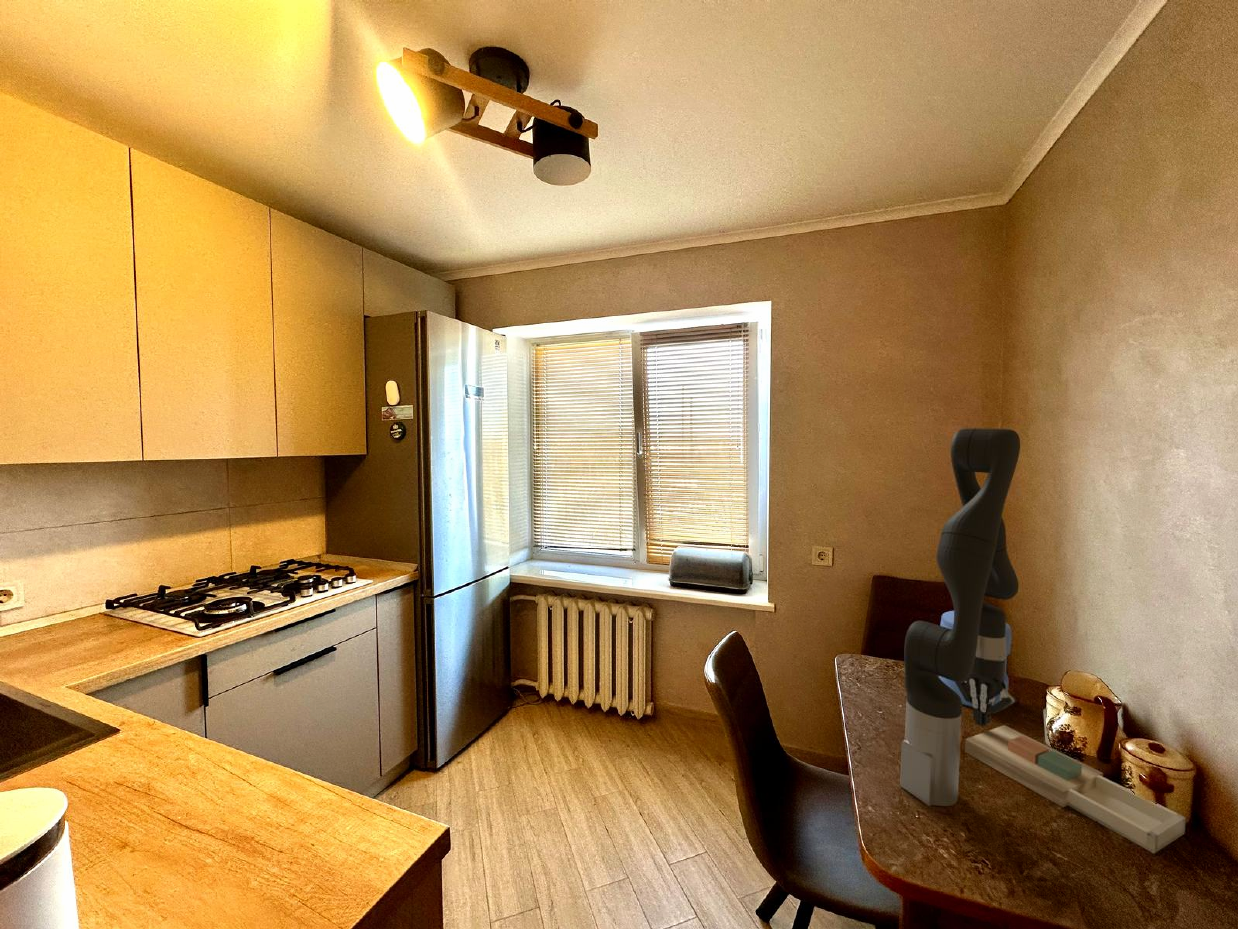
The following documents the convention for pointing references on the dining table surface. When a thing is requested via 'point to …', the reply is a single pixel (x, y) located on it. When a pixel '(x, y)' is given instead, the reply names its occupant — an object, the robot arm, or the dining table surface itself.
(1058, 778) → the birch board
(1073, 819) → the dining table surface
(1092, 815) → the box
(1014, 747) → the terracotta tile
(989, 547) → the robot arm
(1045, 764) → the teal tile
